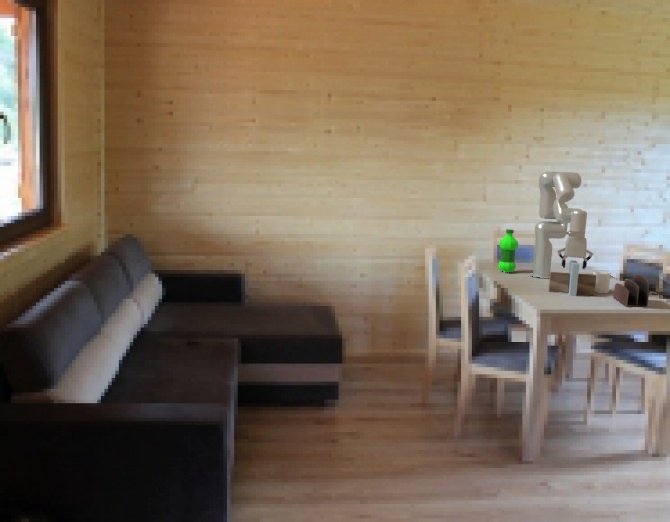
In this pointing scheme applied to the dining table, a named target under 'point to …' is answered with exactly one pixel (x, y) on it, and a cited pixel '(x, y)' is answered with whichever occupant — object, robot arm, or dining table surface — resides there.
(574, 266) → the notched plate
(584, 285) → the slotted board
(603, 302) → the dining table surface
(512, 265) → the plastic bottle
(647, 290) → the letter holder
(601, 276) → the cup
